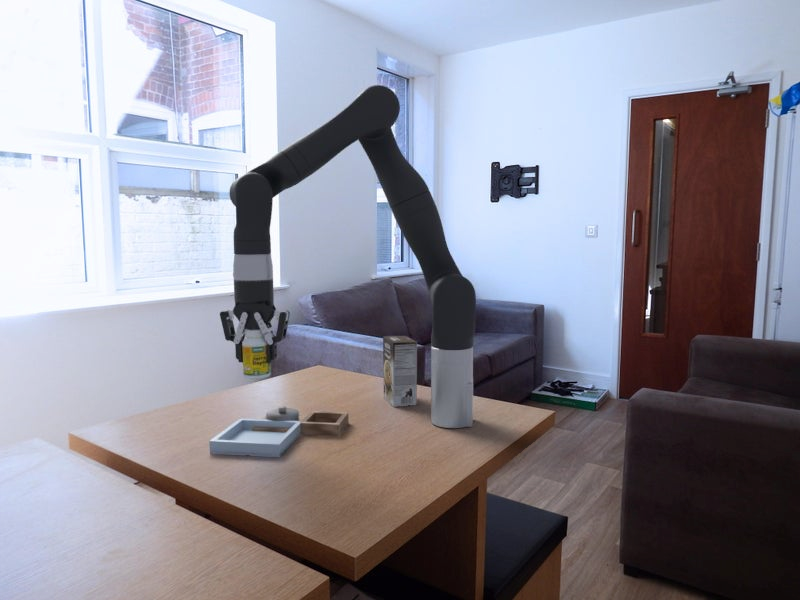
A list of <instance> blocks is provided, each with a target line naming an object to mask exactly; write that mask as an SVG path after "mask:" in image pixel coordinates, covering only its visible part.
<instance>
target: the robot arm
mask: <svg viewBox="0 0 800 600" xmlns="http://www.w3.org/2000/svg"><path fill="white" fill-rule="evenodd" d="M400 111H401V103H400V100H399V98H398V96H397V94H396V93H395V92H394V91H393V90H392V89H391V88H390V87H388V86H385V85H382V84H381V85H380V84H375V85H370V86H368V87H367V88H365V89H364V90H362V91H361V92H360V93H359V94H358V95H357V96H356V98H354V100H353V101H352V102H351V103H350V104H349V105H348V106H346V107H344V109H342V110H341V111H340V112H339V113H337V114H336V115H335V116H334V117H332V118H330V119H329V120H328V121H326V122H325V123H324V124H321V126H318V127H317V128H315V129H314V130H312V131H310V132H309V133H307V134H305V135H304V136H302V137H301V138H299V139H297V140H295V141H294V142H292V143H291V144H289V145H288V146H286V147H284V148H283V149H281V150H280V151H278V152H277V153H275V154H274V155H272V157H270V158H269V159H267V160H266V161H265V162H263V163H262V164H259V165H258V166H257V167H254V168H253V169H251V170H249V171H247V172H246V173H244V174H242V175H240V176H238V177H237V178H236V179H234V181H233V182H232V183H231V185H230V188H229V199H230V202H231V203H232V204H233V206H235V216H236V217H235V218H236V224H235V227H234V230H233V265H232V266H233V267H232V268H233V269H232V270H233V272H232V277H233V293H234V295H233V296H234V298H233V299H234V307H233V309H225V310H222V311H221V312H219V316H220V320H221V326H222V331H223V335H224V338H225V341H227V342H229V341H230V342H233V343H234V345H235V348H234V349H235V358H236V360H237V362H238V363H242V364H243V352H242V343H243V341H244V340H245V339H246V338H247V337H246V336H245V329H251V328H255V329H261V332H262V334H263V335H264V336H265V338H266V341H267V343H268V345H267V363H270V364H272V363H274V362H275V360H277V357H278V351H277V350H278V349H277V348H278V345H277V344H278V343H279V342H282V341H284V340H285V339H287V333H288V328H289V327H288V326H289V322H290V321H289V319H290V314H291V313H290V310H279V309H277V308H276V306H275V304H274V302H275V301H274V299H275V298H274V296H275V295H274V269H273V268H274V267H273V260H272V246H271V245H272V244H271V240H272V239H271V224H272V223H271V221H272V214H273V203H274V202H273V199H274V198H275V197H276V196H277V195H279V194H280V193H282V192H283V191H286V190H287V189H290V188H292V187H294V186H296V185H298V184H300V183H301V182H303V181H304V180H306V179H308V177H310V176H312V175H313V174H315V173H316V172H317V171H319V170H320V169H321V168H322V167H324V166H325V165H326V164H327V163H329V162H330V161H331V160H333V159H334V158H335V157H336V156H338V155H339V154H340V153H341V152H343V151H344V150H345V149H346V148H348V147H349V146H351V145H352V144H354V143H356V142H357V141H358V142H359V144H360V145H361V147H362V148H363V151H364V153H365V154H366V156H367V157H368V159H369V161H370V164H371V165H372V167H373V170H374V172H375V174H376V177H377V180H378V182H379V184H380V186H381V189H382V191H383V193H384V195H385V197H386V201H387V203H388V206H389V208H390V210H391V212H392V215H393V216H394V219H395V221H396V224H397V226H398V227H399V229H400V232H401V234H402V235H403V238H404V239H405V241H406V243H407V244H408V247H409V248H410V249H411V251H412V253H413V255H414V256H415V258H416V260H417V262H418V264H419V266H420V269H421V272H422V274H423V278H424V280H425V284H426V287H427V290H428V294H429V297H430V301H431V303H432V330H431V335H430V337H431V338H430V340H431V341H430V345H431V347H430V361H431V362H430V366H431V367H430V369H431V370H430V381H431V382H430V397H431V398H430V416H431V417H430V419H431V421H430V422H431V424H432V425H435V426H437V427H439V428H446V429H460V428H468V427H469V428H470V427H471V428H472V427H473V421H474V376H473V375H474V337H475V334H476V319H477V318H476V316H477V315H476V312H477V311H476V310H477V309H476V308H477V296H476V290H475V288H474V287H475V286H474V285H473V284H472V281H470V279H468V278H467V277H465V276H463V274H462V273H461V270H460V269H459V267H458V265H457V264H456V261H455V260H454V258H453V255H452V254H451V252H450V249H449V247H448V244H447V243H448V242H447V240H446V236H445V232H444V227H443V224H442V219H441V216H440V213H439V211H438V208H437V205H436V202H435V200H434V197H433V195H432V193H431V191H430V189H429V186H428V185H427V183H426V181H425V179H424V178H423V177H422V176H421V174H420V173H419V172H418V171H417V170H416V169H415V167H413V165H412V164H411V163H410V162H409V161H408V159H406V158H405V156H404V155H403V153H402V152H401V149H400V148H399V145H398V142H397V141H396V138H395V135H394V132H393V129H392V127H393V126H394V125H395V124H396V122H397V120H398V118H399V115H400ZM235 317H236V319H237V321H239V322H238V326H237V328H236V329H235V325H234V321H233V320H234V319H235ZM274 317H276V318H275V319H276V321H277V328H276V333H275V328H274V325H273V323H272V320H273V318H274Z"/></svg>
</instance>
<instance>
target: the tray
mask: <svg viewBox="0 0 800 600" xmlns="http://www.w3.org/2000/svg"><path fill="white" fill-rule="evenodd" d="M300 422H302V421H287V420H285V421H273V420H264V418H263V419H258V418H239V419H237V420H236V421H234V422H233V423H232V424H230V425H229V426H227V427H226V428H225V429H224V430H223V431H221V432H220V433H219V434H217V435H216V436H215V437H213V438H211V439H210V440H209V454H210V455H211V454H212V455H226V456H229V455H231V456H245V455H250V456H249V457H267V458H270V457H271V458H281V456H282V455H284V453H286V451H287V450H288V449H289V448H290V447H291V446H292V444H294V443H295V441H297V439H298V438H299V437H301V423H300ZM253 427H276V428H290V429H289V430H288V431H287V432H268V431H252V428H253Z"/></svg>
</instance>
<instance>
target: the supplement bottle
mask: <svg viewBox="0 0 800 600" xmlns="http://www.w3.org/2000/svg"><path fill="white" fill-rule="evenodd" d="M245 336H246V337H245V340H244V341H243V343H242V352H243V363H242V364H243V365H242V370H243V376H244V378H245V379H250V380H258V379H259V380H262V379H266V378H268V377H269V376H271V373H272V371H271V369H272V366H271V364H272V363H267V345H268V343H267V341H266V338H265V336H264V335H263V334H262V332H261V329H255V328H251V329H245Z"/></svg>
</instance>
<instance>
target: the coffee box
mask: <svg viewBox="0 0 800 600" xmlns="http://www.w3.org/2000/svg"><path fill="white" fill-rule="evenodd" d="M382 353H383V355H382V357H383V358H382V359H383V362H382V363H383V398H384V399H385V400H386V401H387V402H388V403H389V404H390V406H392V407H394V408H397V407H398V406H399V407H407V406H408V405H410V406H416V405H415V404H417V402H418V401H417V400H418V399H417V397H418V395H417V392H418V391H417V389H418V388H417V387H418V386H417V385H418V384H417V382H418V381H417V380H418V378H417V377H418V373H417V372H418V341H417V340H414V339H412V338H410V337H409V336H407V335H386V336H382ZM399 407H398V408H399ZM408 407H409V406H408Z"/></svg>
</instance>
